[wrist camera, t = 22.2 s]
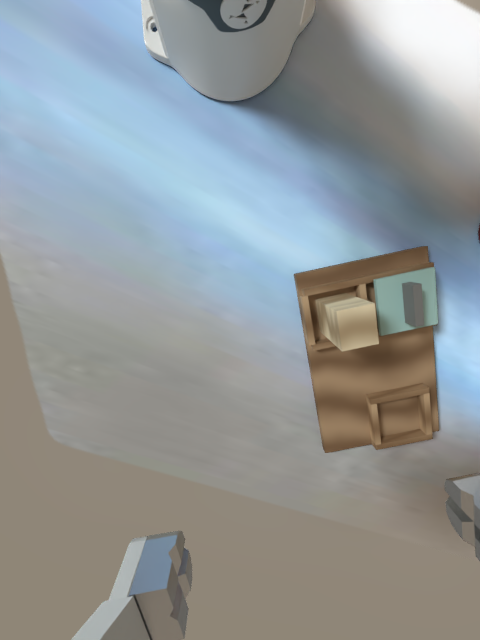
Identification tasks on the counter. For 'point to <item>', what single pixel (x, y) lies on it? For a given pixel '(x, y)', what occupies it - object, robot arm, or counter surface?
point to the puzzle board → (369, 363)
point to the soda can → (479, 233)
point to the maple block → (347, 321)
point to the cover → (406, 301)
